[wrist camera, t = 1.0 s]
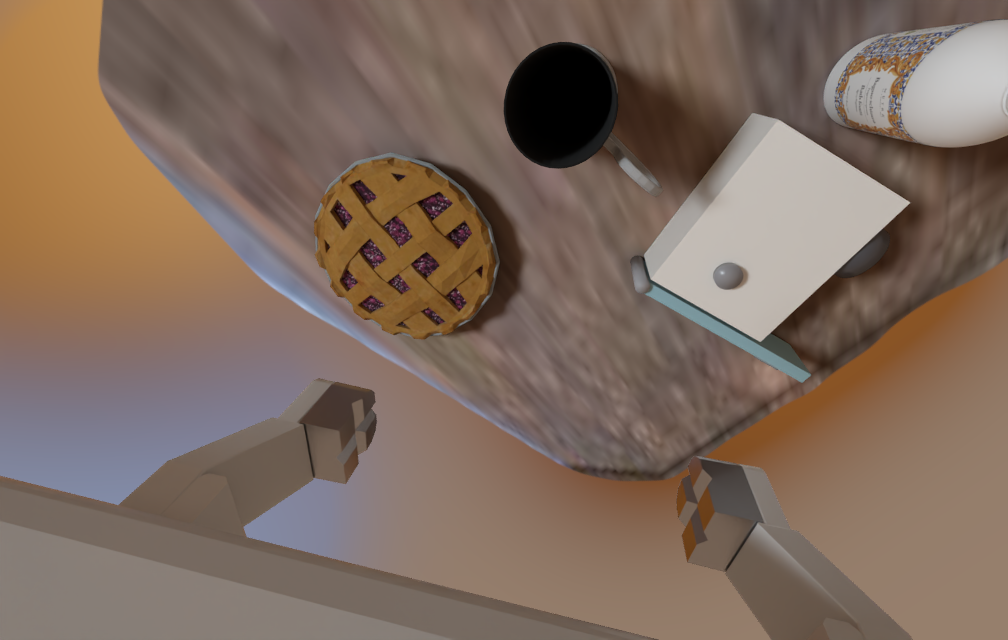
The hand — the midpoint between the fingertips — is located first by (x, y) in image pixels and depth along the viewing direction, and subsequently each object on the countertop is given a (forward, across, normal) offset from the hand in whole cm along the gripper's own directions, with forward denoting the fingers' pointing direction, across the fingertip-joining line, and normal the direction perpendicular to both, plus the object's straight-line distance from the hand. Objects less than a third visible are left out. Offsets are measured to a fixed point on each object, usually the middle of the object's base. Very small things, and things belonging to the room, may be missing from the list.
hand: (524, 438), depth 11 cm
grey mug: (+39, -1, -5) cm, 39 cm away
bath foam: (+39, -23, -10) cm, 46 cm away
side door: (+39, -17, +13) cm, 44 cm away
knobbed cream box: (+39, -19, +3) cm, 43 cm away
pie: (+39, +18, +12) cm, 45 cm away
